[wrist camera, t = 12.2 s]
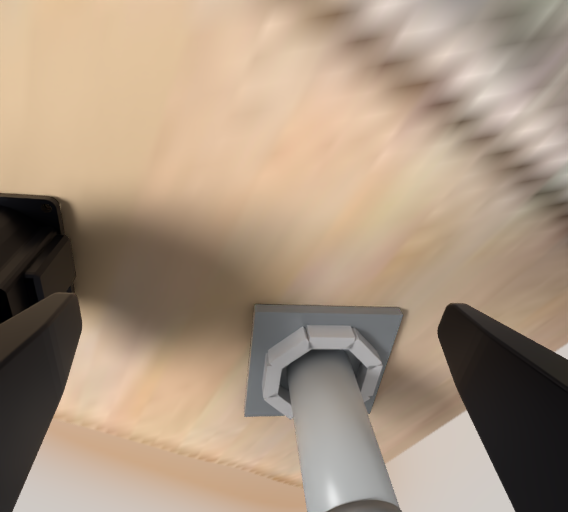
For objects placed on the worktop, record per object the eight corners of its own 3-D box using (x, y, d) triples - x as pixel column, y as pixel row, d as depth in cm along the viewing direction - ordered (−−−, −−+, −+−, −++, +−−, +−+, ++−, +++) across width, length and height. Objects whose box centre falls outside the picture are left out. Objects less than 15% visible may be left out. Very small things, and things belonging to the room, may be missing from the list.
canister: (282, 392, 29) (306, 570, 19) (289, 344, 26) (319, 522, 17) (344, 390, 30) (395, 563, 20) (356, 344, 27) (420, 515, 18)
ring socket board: (244, 407, 30) (245, 430, 29) (254, 304, 25) (256, 324, 24) (366, 405, 32) (374, 426, 30) (398, 307, 27) (410, 326, 25)
